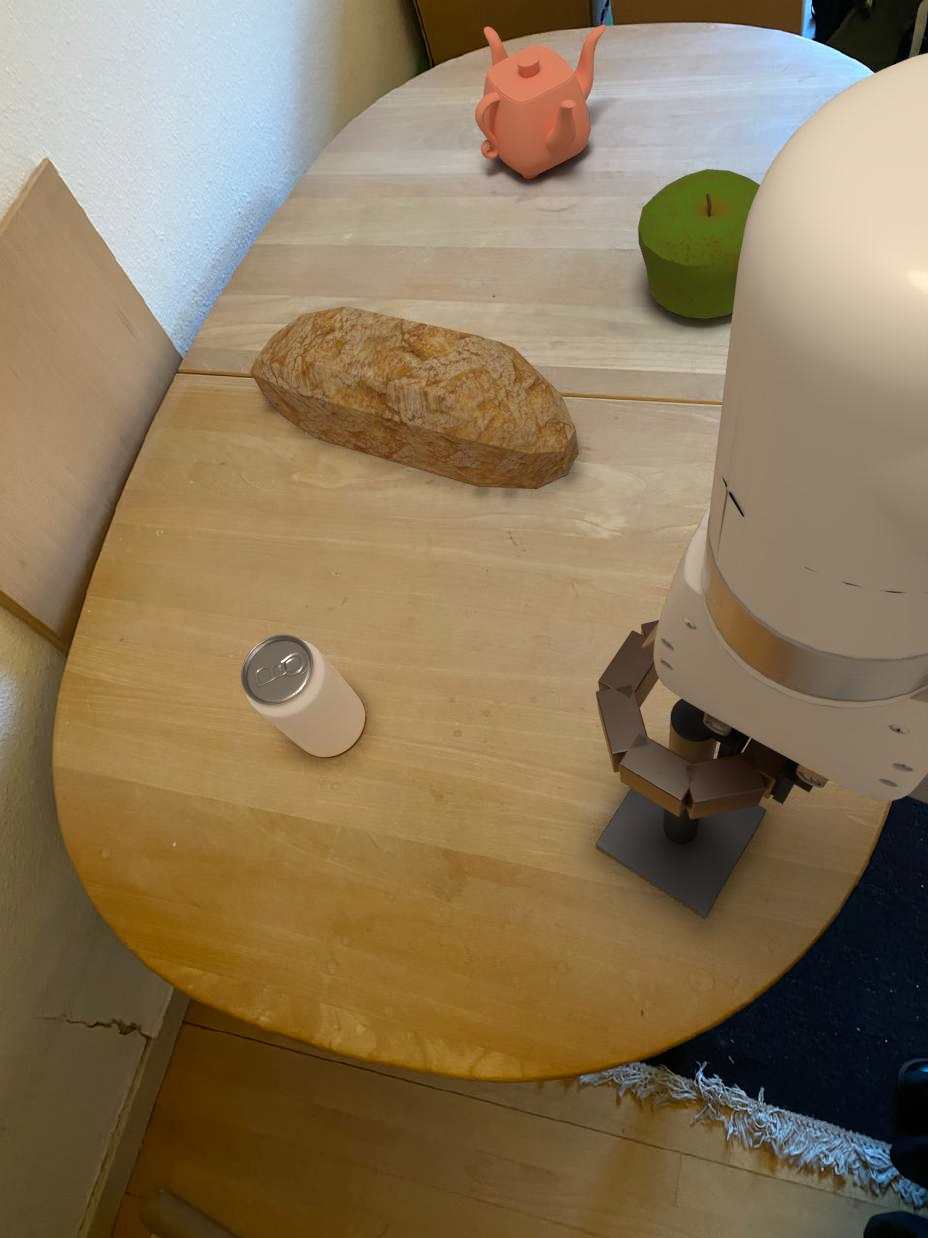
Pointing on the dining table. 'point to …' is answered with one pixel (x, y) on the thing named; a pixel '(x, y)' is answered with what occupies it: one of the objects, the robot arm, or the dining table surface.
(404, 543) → the dining table surface
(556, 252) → the dining table surface
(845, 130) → the robot arm
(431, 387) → the bread
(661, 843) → the dark grey peg stand
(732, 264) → the apple
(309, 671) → the can
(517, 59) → the teapot
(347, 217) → the dining table surface
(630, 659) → the ring
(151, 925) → the dining table surface
